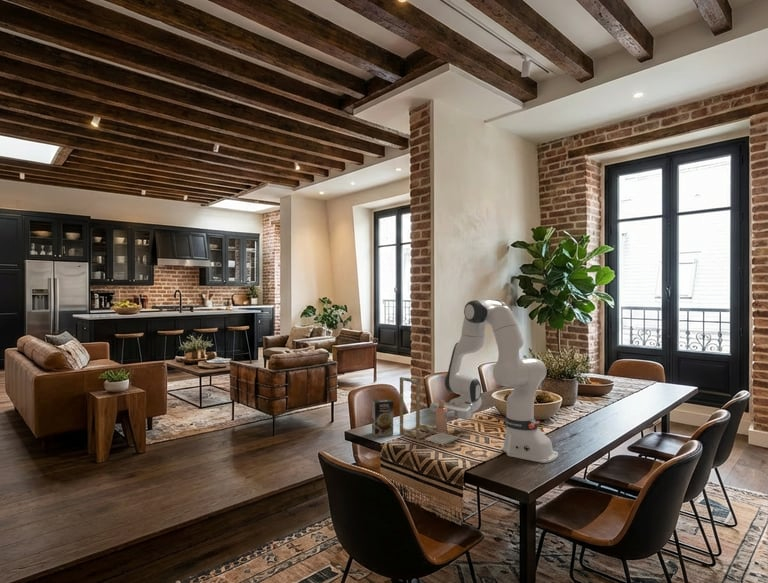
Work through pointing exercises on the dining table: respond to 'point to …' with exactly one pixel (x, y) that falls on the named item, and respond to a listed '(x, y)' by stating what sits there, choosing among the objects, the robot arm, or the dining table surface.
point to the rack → (418, 425)
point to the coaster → (441, 438)
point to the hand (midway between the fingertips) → (440, 413)
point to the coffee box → (382, 417)
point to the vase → (441, 418)
